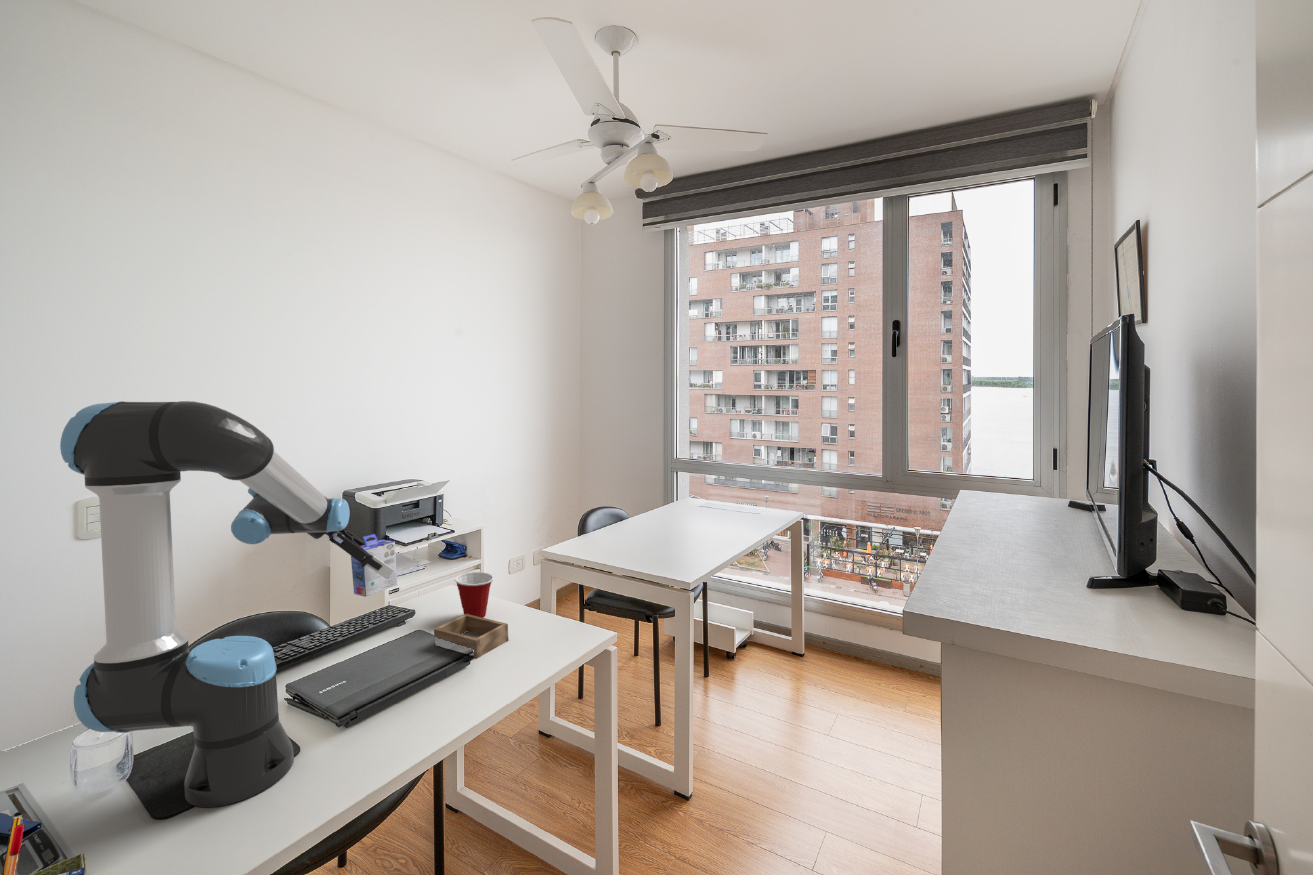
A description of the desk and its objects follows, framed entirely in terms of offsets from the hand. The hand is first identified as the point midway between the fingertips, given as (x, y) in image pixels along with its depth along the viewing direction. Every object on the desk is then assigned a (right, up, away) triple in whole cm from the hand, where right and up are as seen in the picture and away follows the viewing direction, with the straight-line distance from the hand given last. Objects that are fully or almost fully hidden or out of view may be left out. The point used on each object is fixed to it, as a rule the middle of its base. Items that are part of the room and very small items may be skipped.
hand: (388, 569), depth 150 cm
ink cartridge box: (-3, -5, -1) cm, 6 cm away
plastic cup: (+19, -17, +15) cm, 29 cm away
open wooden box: (+23, -19, -3) cm, 30 cm away
